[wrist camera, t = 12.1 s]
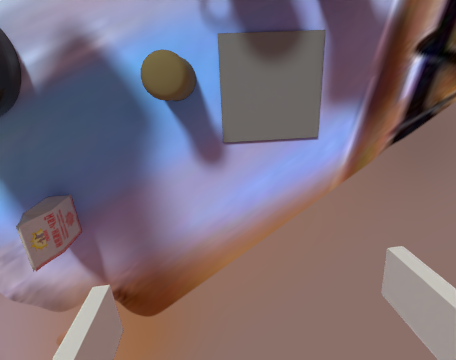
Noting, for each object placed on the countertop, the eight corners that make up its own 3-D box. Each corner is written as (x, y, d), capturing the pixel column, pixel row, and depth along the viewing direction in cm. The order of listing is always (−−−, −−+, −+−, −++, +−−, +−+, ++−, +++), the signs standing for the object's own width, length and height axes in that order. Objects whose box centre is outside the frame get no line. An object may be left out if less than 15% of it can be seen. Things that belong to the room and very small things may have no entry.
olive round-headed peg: (202, 92, 39) (200, 93, 28) (164, 107, 39) (148, 113, 29) (185, 49, 37) (177, 33, 27) (145, 65, 37) (122, 55, 27)
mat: (223, 142, 41) (223, 142, 41) (217, 34, 37) (217, 33, 36) (316, 136, 42) (317, 136, 42) (324, 30, 37) (325, 29, 37)
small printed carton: (59, 234, 44) (20, 273, 35) (47, 197, 42) (1, 228, 33) (81, 231, 45) (48, 269, 35) (70, 194, 42) (32, 224, 33)
